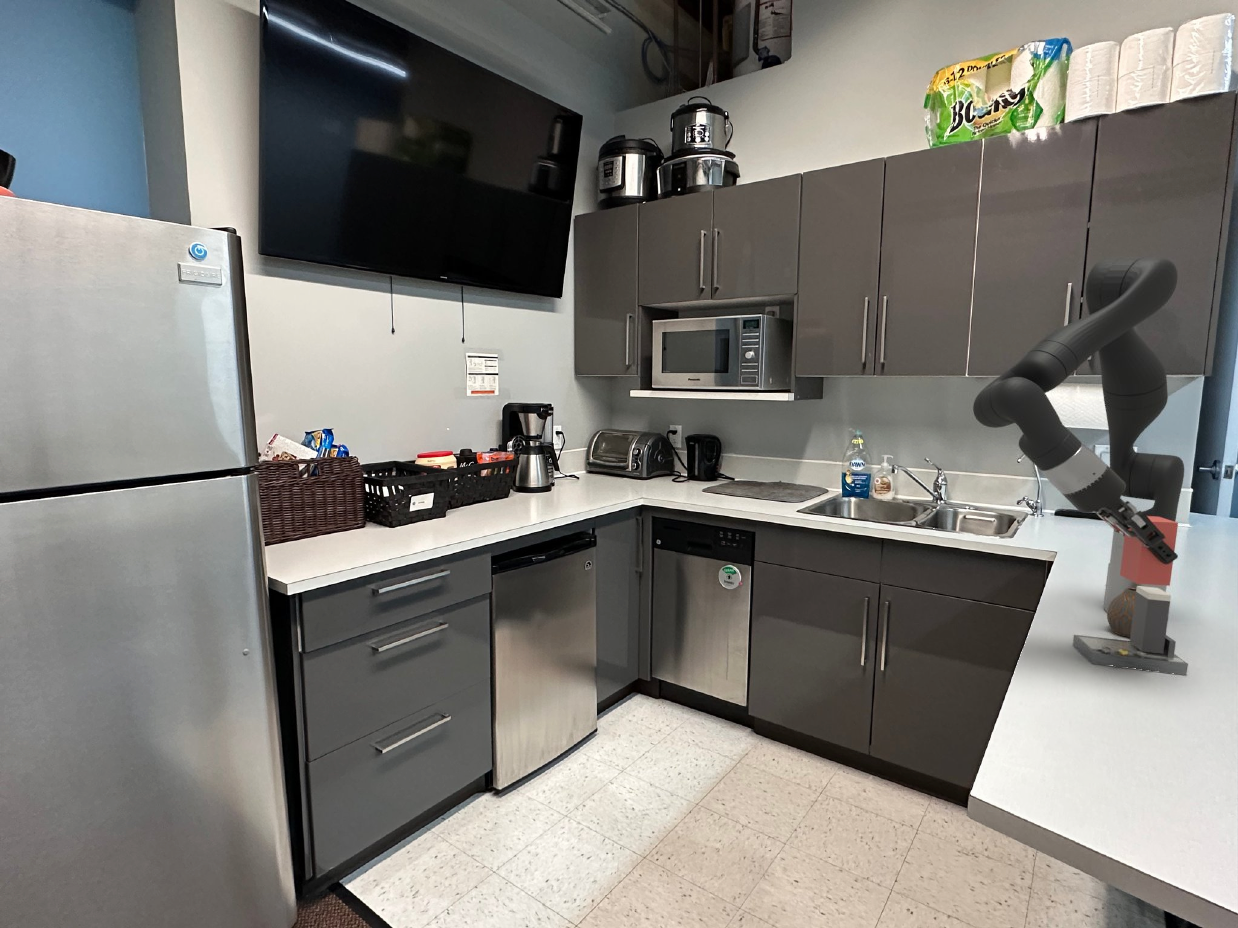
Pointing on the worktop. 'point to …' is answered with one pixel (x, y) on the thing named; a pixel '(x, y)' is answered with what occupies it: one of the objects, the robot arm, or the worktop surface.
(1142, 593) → the block
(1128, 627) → the vase
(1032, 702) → the worktop surface
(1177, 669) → the ball-studded metal plate
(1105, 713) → the worktop surface
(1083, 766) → the worktop surface
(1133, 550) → the block
